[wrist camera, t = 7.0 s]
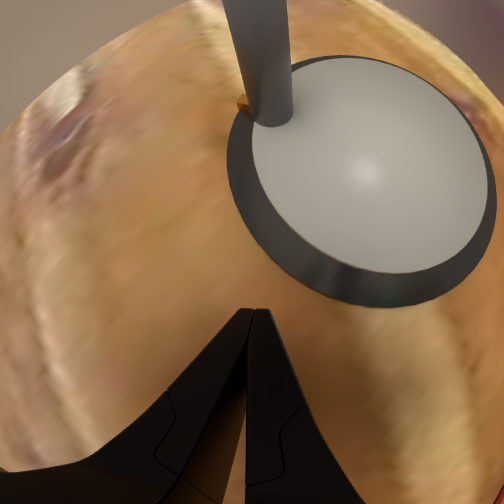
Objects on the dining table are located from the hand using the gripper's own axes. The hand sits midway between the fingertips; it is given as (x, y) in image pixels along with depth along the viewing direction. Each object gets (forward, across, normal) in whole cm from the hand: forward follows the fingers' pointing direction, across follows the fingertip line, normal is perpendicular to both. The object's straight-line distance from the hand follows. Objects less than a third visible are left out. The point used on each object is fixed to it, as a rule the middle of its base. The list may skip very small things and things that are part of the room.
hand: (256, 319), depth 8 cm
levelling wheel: (+14, -8, -2) cm, 16 cm away
